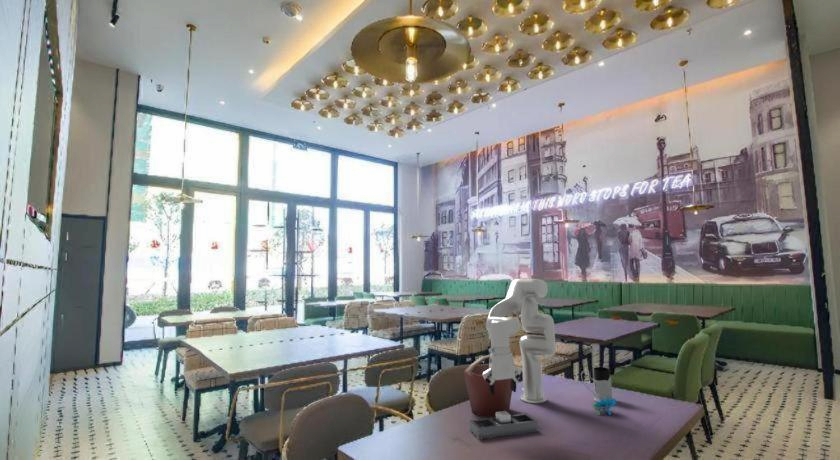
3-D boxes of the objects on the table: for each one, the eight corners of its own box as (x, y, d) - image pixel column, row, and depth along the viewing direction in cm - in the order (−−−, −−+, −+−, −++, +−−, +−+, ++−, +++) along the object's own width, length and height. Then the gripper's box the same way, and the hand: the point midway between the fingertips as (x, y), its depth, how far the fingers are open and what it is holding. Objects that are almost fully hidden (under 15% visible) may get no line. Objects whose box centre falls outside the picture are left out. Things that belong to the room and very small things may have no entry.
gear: (613, 405, 182) (617, 394, 176) (619, 418, 177) (623, 407, 171) (589, 409, 182) (592, 398, 176) (595, 422, 178) (598, 411, 171)
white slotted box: (496, 429, 161) (495, 411, 162) (506, 428, 162) (505, 410, 163) (501, 434, 157) (500, 415, 158) (511, 432, 158) (510, 413, 159)
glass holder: (615, 403, 189) (612, 371, 191) (583, 401, 193) (581, 370, 195) (611, 397, 198) (609, 367, 199) (581, 395, 202) (579, 365, 203)
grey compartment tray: (478, 439, 152) (478, 428, 152) (469, 430, 161) (469, 420, 161) (538, 431, 159) (537, 421, 159) (526, 423, 167) (526, 413, 168)
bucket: (502, 400, 197) (500, 349, 199) (527, 415, 176) (524, 358, 178) (457, 406, 189) (456, 353, 192) (477, 423, 168) (475, 363, 171)
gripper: (485, 354, 157) (487, 398, 156) (524, 350, 162) (526, 392, 160) (477, 350, 164) (479, 392, 163) (515, 346, 169) (517, 387, 168)
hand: (502, 392), depth 162 cm, fingers open, 9 cm apart
